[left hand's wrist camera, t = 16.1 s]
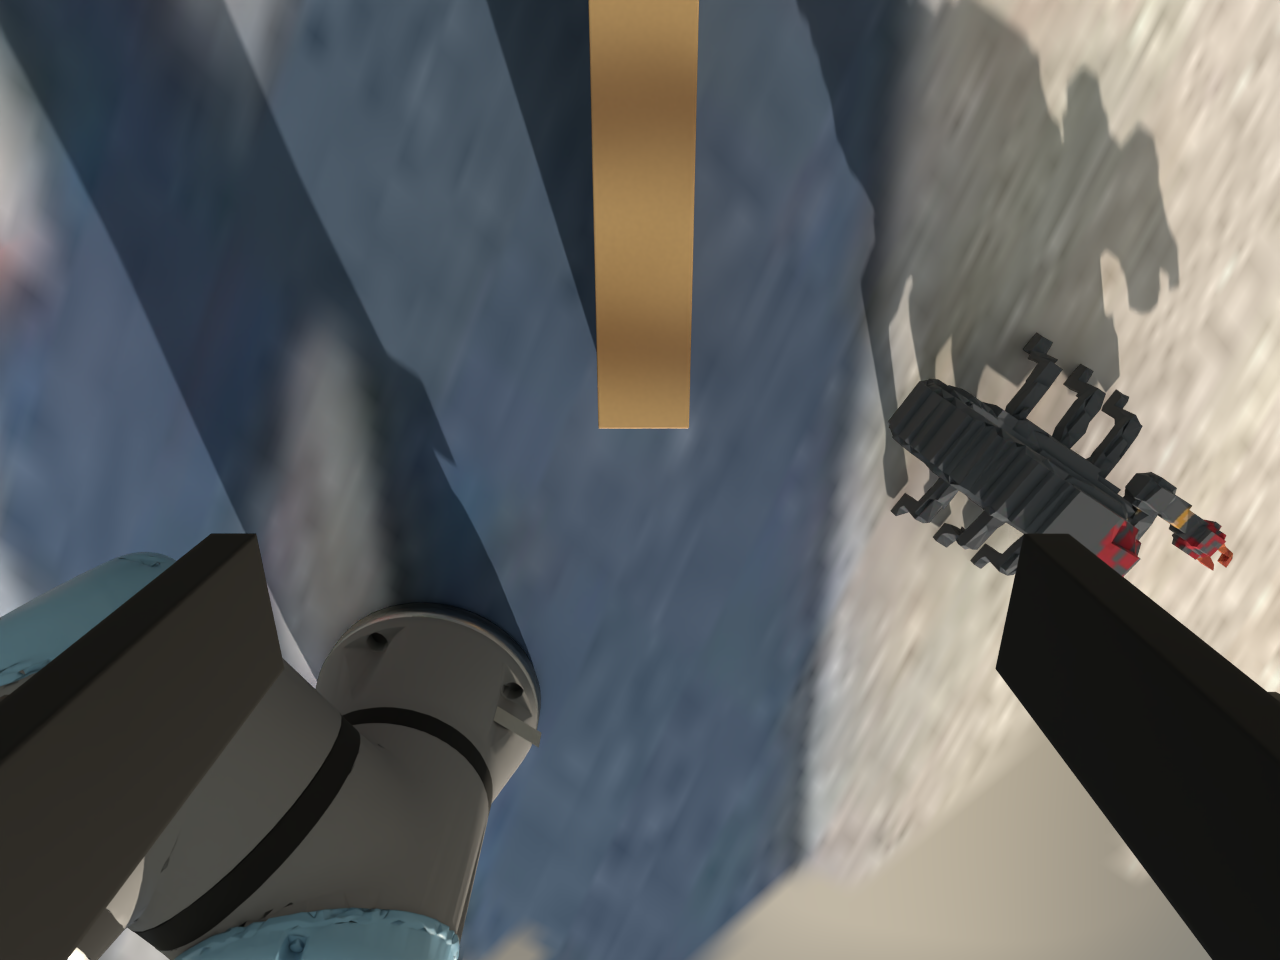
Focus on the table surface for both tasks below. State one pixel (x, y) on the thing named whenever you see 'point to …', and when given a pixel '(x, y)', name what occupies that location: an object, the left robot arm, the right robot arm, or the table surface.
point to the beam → (643, 206)
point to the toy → (1040, 472)
